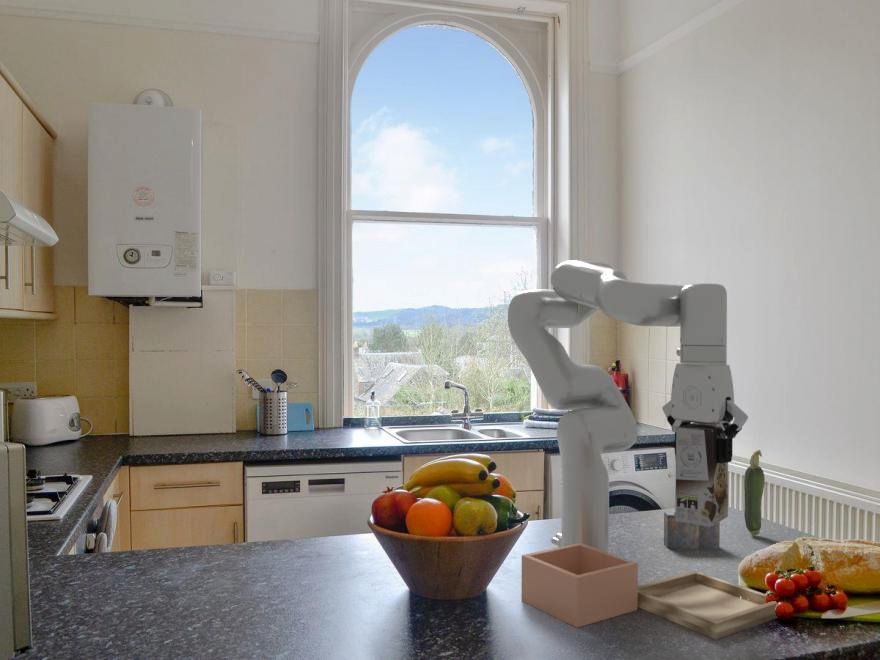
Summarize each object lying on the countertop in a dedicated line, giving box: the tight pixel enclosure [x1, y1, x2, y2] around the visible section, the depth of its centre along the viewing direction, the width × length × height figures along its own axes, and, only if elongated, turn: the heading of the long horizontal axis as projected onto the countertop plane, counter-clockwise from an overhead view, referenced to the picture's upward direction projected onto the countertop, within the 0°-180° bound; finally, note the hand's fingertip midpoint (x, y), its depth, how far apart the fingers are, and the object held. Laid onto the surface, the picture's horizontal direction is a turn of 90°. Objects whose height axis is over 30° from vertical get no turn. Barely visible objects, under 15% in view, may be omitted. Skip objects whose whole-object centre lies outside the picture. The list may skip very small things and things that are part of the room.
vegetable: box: [743, 449, 766, 537], centre depth 173 cm, size 4×4×20 cm
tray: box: [637, 570, 779, 641], centre depth 128 cm, size 18×18×2 cm
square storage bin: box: [520, 543, 639, 628], centre depth 129 cm, size 14×14×8 cm
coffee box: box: [674, 422, 729, 527], centre depth 128 cm, size 9×6×16 cm
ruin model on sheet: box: [663, 511, 721, 550], centre depth 164 cm, size 25×16×10 cm, turn 89°
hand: (702, 457), depth 128 cm, fingers closed on coffee box, 8 cm apart
